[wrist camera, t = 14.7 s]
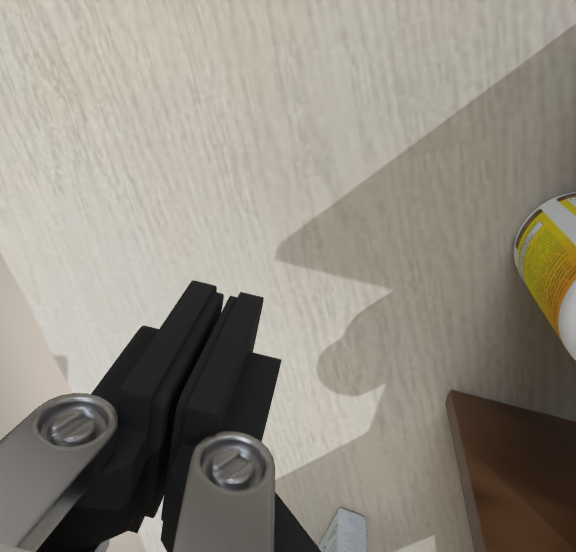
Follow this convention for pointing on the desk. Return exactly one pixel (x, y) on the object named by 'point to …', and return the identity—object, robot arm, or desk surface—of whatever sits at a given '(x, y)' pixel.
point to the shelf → (515, 475)
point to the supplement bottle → (551, 263)
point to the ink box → (345, 533)
